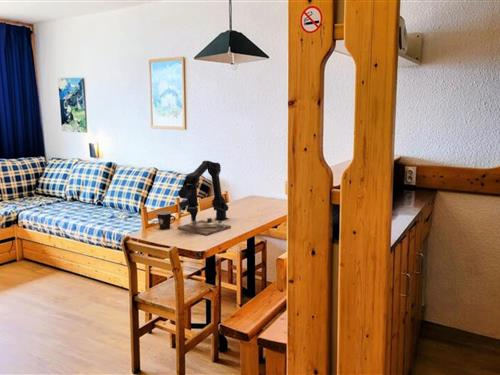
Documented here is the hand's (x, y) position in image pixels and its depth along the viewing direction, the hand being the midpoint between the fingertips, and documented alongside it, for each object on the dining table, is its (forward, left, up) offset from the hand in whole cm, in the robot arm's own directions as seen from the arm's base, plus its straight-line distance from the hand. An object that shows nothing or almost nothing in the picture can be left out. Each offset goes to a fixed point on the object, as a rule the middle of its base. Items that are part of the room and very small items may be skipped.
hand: (193, 220), depth 271 cm
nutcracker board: (-7, +1, -7) cm, 10 cm away
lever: (-6, +6, -4) cm, 9 cm away
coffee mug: (+7, -19, -7) cm, 21 cm away
